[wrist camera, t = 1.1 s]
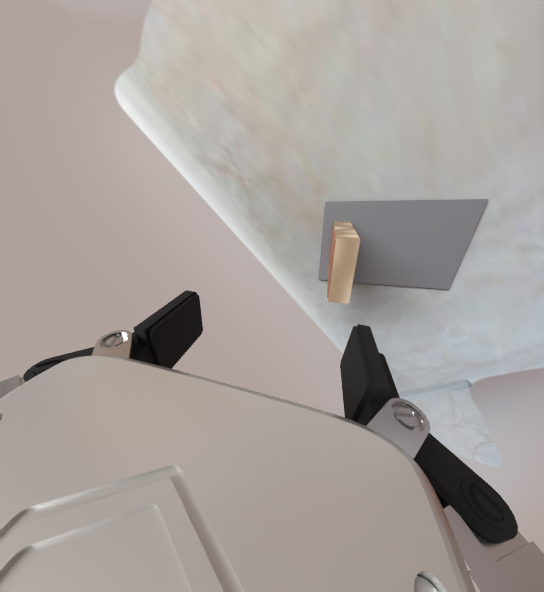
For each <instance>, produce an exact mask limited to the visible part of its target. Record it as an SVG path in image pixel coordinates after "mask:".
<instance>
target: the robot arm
mask: <svg viewBox="0 0 544 592" xmlns="http://www.w3.org/2000/svg"><path fill="white" fill-rule="evenodd" d="M134 331H135V332H133V333H131V332H129V331H126V330H119V331H114V332H111V333H108V334H106V335H104V336H103V337H101V338H100V339H99V340H98V341H97V343H96V345H95V347H92V348H88V349H84V350H81V351H76V352H73V353H68V354H64V355H60V356H56V357H52V358H49V359H45V360H43V361H41V362H39V363H37V364H36V365H34V366H32V367H31V368H30V369H29V370H27V372H26V373H25V374H24V376H23V377H20V376H19V375H17V376H15V377H12V378H9V379H7V380H4V381H2V382H0V592H476V591H475V588H474V585H473V583H472V580H471V577H472V579H473V580H474V582H475V583H476V584H477V586H478V588H479V589H480V591H481V592H544V553H543V552H541V550H540V549H539V548H538V547H537V546H536V544H535V543H534V542H530V543H528V542H527V541H526V539H525V538H524V537H523V536H522V535H521V534H520V532H518V525H517V523H516V520H515V517H514V515H513V513H512V511H511V510H510V508H509V506H508V505H507V504H506V502H505V501H504V500H503V499H502V497H501V496H500V495H499V494H498V493H497V492H496V491H495V490H494V489H493V488H492V487H491V486H490V485H488V483H486V482H485V481H484V480H483V479H482V478H481V477H479V476H478V475H477V474H476V473H475V472H473V470H471V469H470V468H469V467H468V466H467V465H466V464H464V463H463V462H462V461H461V460H460V459H459V458H458V457H456V456H455V455H454V454H453V453H452V452H451V451H449V450H448V449H447V448H446V447H445V446H444V445H443V444H441V443H440V442H439V441H438V440H437V439H436V438H434V437H433V436H432V435H431V434H430V433H429V431H430V425H429V422H428V420H427V418H426V416H425V415H424V414H423V412H422V411H421V410H420V409H419V408H418V407H416V406H415V405H414V404H412V403H411V402H409V401H407V400H404V399H401V398H399V395H398V392H397V389H396V387H395V384H394V381H393V378H392V376H391V373H390V370H389V367H388V365H387V362H386V359H385V357H384V355H383V354H381V353H379V352H378V349H377V346H376V343H375V340H374V337H373V334H372V331H371V328H370V327H369V326H365V325H360V324H358V325H357V327H356V326H354V327H353V329H352V332H351V335H350V337H349V340H348V343H347V346H346V349H345V351H344V354H343V357H342V360H341V365H340V368H341V378H342V390H343V401H344V411H345V418H344V417H341V416H338V415H335V414H332V413H328V412H325V411H321V410H319V409H315V408H312V407H308V406H305V405H302V404H298V403H295V402H291V401H287V400H284V399H280V398H276V397H273V396H269V395H266V394H262V393H259V392H255V391H251V390H248V389H244V388H240V387H237V386H233V385H229V384H226V383H222V382H218V381H215V380H211V379H207V378H204V377H200V376H196V375H192V374H189V373H185V372H181V371H177V370H174V369H172V368H173V366H174V365H175V364H176V363H177V362H178V361H179V359H180V358H181V357H182V356H183V355H184V354H185V352H186V351H187V350H188V349H189V348H190V347H191V345H192V344H193V343H194V342H195V341H196V340H197V338H198V337H199V336H200V335H201V334H202V331H203V327H202V317H201V308H200V300H199V296H198V295H197V293H196V292H192V291H185V292H183V293H182V294H180V295H179V296H178V297H176V298H175V299H174V300H172V301H171V302H169V303H168V304H167V305H165V306H164V307H162V308H161V309H159V310H158V311H157V312H155V313H154V314H152V315H151V316H150V317H148V318H147V319H146V320H144V321H143V322H142V323H140V324H139V325H137V326H136V327H134ZM464 560H465V561H464ZM465 562H466V563H467V565H468V566H469V568H470V569H471V570H469V571H468V569H467V567H466V564H465ZM469 574H470V575H469ZM416 576H418V577H416ZM470 576H471V577H470Z"/></svg>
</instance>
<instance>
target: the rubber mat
mask: <svg viewBox="0 0 544 592" xmlns="http://www.w3.org/2000/svg"><path fill="white" fill-rule="evenodd" d="M487 201H488V199H476V200H416V201H355V202H326V204H325V214H324V225H323V236H322V247H321V258H320V269H319V280H328V263H329V255H330V246H331V237H332V228H333V224H334V221H350V223H351V224H352V226H353V228H354V229H355V231H356V233H357V235H358V236H359V238H360V245H359V250H358V256H357V261H356V267H355V272H354V278H353V282H355V283H369V284H382V285H395V286H408V287H422V288H435V289H448V290H449V287H450V285H451V283H452V281H453V278H454V276H455V274H456V272H457V269H458V267H459V265H460V262H461V260H462V258H463V256H464V253H465V251H466V249H467V247H468V244H469V242H470V240H471V238H472V235H473V233H474V231H475V228H476V226H477V224H478V222H479V219H480V217H481V215H482V213H483V210H484V208H485V206H486V204H487Z"/></svg>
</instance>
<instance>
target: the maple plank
mask: <svg viewBox="0 0 544 592" xmlns="http://www.w3.org/2000/svg"><path fill="white" fill-rule="evenodd" d="M359 245H360V238H359V236H358V235H357V233H356V231H355V229H354V228H353V226H352V224H351V223H350V221H334V224H333V228H332V237H331V246H330V255H329V263H328V289H327V297H329V298H328V302H337V303H347V304H349V300H350V294H351V289H352V283H353V278H354V272H355V267H356V261H357V256H358V250H359Z"/></svg>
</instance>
